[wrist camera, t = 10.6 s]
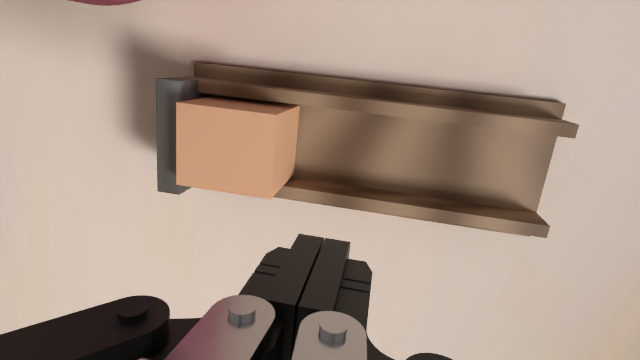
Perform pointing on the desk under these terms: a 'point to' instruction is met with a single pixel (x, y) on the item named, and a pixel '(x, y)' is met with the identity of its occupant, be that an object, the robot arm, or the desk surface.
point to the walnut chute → (393, 145)
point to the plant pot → (105, 2)
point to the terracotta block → (236, 145)
